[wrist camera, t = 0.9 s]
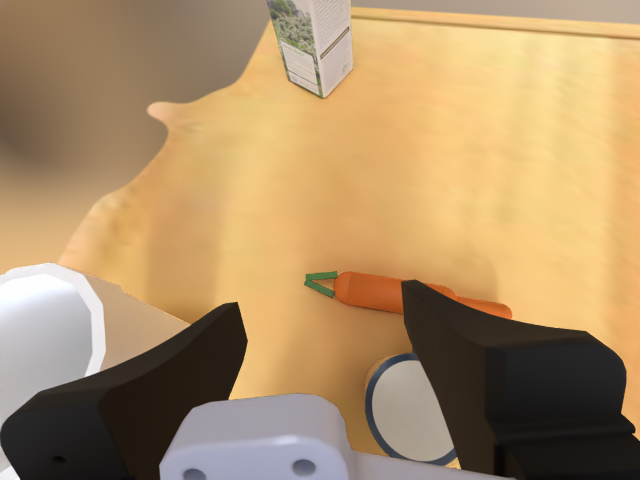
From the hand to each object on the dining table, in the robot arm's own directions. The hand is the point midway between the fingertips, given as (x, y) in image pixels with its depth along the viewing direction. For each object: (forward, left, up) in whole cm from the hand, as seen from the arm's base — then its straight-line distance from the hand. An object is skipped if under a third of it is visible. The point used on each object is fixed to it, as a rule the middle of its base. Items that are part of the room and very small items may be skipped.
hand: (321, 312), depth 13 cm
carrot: (-1, -6, -12) cm, 14 cm away
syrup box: (+26, -13, -13) cm, 32 cm away
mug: (-6, -2, -12) cm, 14 cm away
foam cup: (+5, +13, -13) cm, 19 cm away
